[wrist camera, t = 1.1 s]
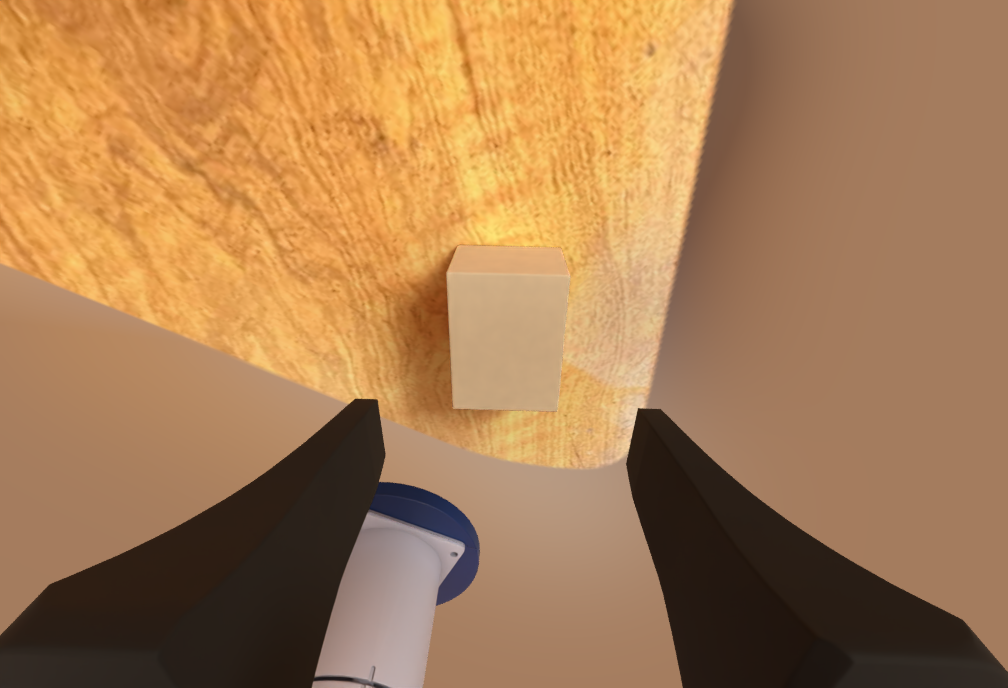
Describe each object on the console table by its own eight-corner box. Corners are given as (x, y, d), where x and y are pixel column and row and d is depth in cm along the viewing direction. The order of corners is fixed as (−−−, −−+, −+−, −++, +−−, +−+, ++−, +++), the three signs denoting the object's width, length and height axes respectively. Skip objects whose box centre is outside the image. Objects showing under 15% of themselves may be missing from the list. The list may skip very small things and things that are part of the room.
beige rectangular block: (551, 368, 21) (557, 412, 18) (461, 365, 21) (452, 409, 18) (561, 247, 18) (570, 275, 15) (457, 244, 18) (445, 272, 15)
